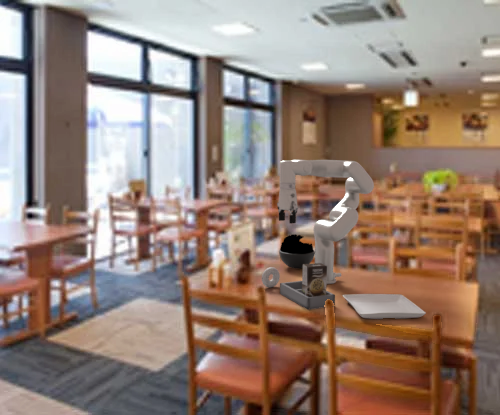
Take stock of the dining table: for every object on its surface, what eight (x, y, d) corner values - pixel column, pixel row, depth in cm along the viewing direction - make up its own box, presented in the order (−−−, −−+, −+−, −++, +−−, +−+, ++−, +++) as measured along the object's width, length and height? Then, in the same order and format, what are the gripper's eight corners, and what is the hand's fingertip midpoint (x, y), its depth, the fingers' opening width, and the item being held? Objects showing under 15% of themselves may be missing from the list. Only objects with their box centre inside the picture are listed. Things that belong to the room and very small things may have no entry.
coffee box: (307, 303, 218) (307, 266, 216) (301, 299, 224) (302, 263, 222) (326, 302, 220) (327, 265, 219) (320, 297, 227) (321, 262, 225)
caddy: (279, 293, 237) (280, 283, 236) (304, 290, 242) (305, 280, 242) (307, 309, 214) (307, 298, 213) (334, 306, 219) (335, 294, 218)
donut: (264, 289, 243) (264, 269, 242) (260, 288, 246) (260, 267, 245) (280, 286, 249) (281, 266, 247) (276, 285, 252) (277, 265, 250)
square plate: (426, 321, 202) (427, 312, 201) (359, 322, 200) (359, 313, 199) (401, 301, 229) (401, 292, 228) (341, 301, 227) (341, 293, 226)
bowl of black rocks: (296, 262, 301) (297, 231, 299) (321, 269, 286) (322, 235, 284) (271, 267, 288) (272, 234, 286) (296, 274, 273) (297, 239, 271)
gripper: (304, 187, 237) (303, 223, 239) (284, 184, 252) (284, 219, 255) (290, 188, 234) (290, 225, 236) (271, 185, 249) (271, 220, 251)
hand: (287, 221), depth 245 cm, fingers open, 9 cm apart
